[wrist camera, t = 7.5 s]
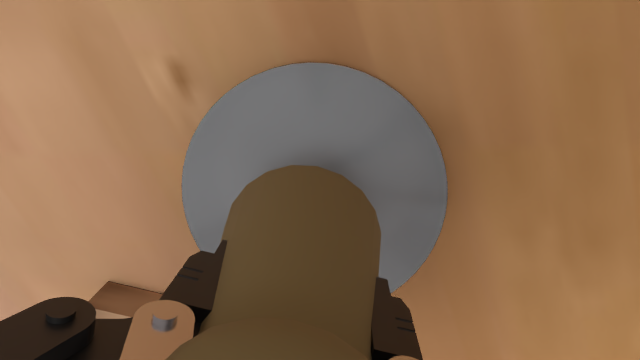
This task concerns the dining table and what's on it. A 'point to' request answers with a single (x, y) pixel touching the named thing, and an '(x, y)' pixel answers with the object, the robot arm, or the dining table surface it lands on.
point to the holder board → (120, 301)
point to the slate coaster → (322, 154)
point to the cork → (294, 272)
